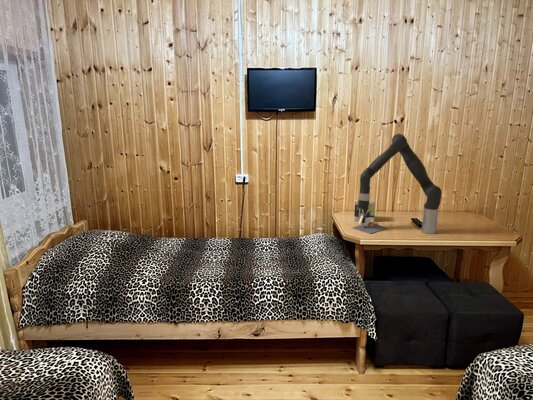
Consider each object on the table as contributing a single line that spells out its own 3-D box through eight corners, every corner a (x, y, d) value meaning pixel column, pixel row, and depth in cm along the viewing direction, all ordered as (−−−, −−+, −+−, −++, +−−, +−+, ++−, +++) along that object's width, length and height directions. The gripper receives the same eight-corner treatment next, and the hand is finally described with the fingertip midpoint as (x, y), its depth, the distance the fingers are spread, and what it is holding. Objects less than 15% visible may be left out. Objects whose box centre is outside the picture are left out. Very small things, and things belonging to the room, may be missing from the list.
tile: (367, 218, 277) (360, 214, 271) (370, 218, 276) (363, 215, 270) (364, 225, 277) (357, 222, 271) (367, 226, 275) (360, 223, 270)
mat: (370, 223, 286) (370, 222, 285) (388, 228, 273) (388, 227, 273) (352, 228, 274) (352, 227, 274) (370, 234, 261) (370, 233, 261)
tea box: (373, 218, 297) (375, 200, 293) (374, 222, 287) (375, 203, 284) (354, 217, 300) (355, 199, 297) (353, 221, 291) (354, 202, 287)
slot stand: (371, 222, 284) (371, 220, 283) (378, 224, 279) (378, 222, 279) (365, 224, 280) (365, 222, 279) (371, 226, 275) (372, 224, 275)
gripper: (375, 200, 265) (372, 224, 269) (359, 196, 276) (357, 219, 280) (368, 201, 261) (366, 225, 265) (352, 197, 271) (350, 221, 275)
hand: (361, 222), depth 272 cm, fingers closed on tile, 2 cm apart
